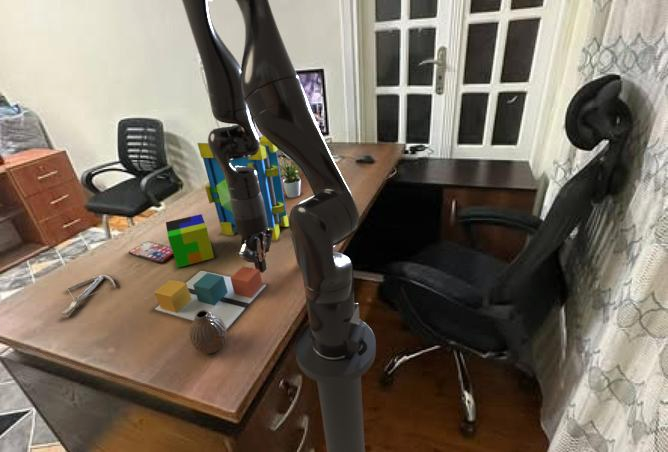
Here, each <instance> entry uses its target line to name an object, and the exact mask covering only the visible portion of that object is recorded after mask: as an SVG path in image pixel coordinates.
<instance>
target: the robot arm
mask: <svg viewBox="0 0 668 452" xmlns="http://www.w3.org/2000/svg"><path fill="white" fill-rule="evenodd" d="M213 1H214V0H181V2H182V6H183V9H184V12H185V15H186V19H187V23H188V25H189V28H190V31H191V34H192V37H193V40H194V44H195V47H196V49H197V53H198V55H199V59H200V62H201V66H202V69H203V73H204V77H205V82H206V88H207V93H208V94H207V95H208V99H209V105H210V110H211V114H212V116H213V117H214V119H215V120H216V121H218V122H220V123H224V124H230V125H227V126H220V127H216V128H213V129H211V130H210V131H209V133H208V136H207V143H208V145H209V148H210V150H211V152H212V154H213V155H214V157H215V159H216V160H217V162H218V164H219V166H220V167H221V169H222V171H223V174H224V176H225V179H226V182H227V186H228V190H229V194H230V200H231V208H232V212H233V216H234V221H235V225H236V229H237V232H236V233H238V234H239V235H240V239H241V240H240V243H241V245H242V246H241V249H240V250H237V251H236V256H237V257H239V258H240V259H242V260H244V261H246V263H247V262H248V263H252V264H253V265H254V269H259V270H260V274H261V273H262V274H263V273H265V271H266V270H267V262H266V261H267V260H266V257H267V253H269V252H270V248H271V244H272V240H271V239H272V234H273V230H271V229H266V228H267V227H268V222H267V216H266V211H265V206H264V201H263V197H262V194H261V190H260V185H259V180H258V175H257V172H256V170H255V169H254V168H253V167H248V166H235V165H232V164H231V160H235V159H241V158H246V157H250V156H254V155H255V154H256V153H257V152H258V151H259V148H260V139H261V138H260V137H259V134H258V132H257V129H258V130H259V132H260V133H261V134H262V136H263V135H264V136H265V137H266V138H267V139H268V140H269V141H270V142H271V143H272V144H273V145H274V146H276V147H277V148H278V151H280V152H281V153H282V154H284V155H285V156H286V157H288V159H289V158H290V159H289V160H290V161H292V162H293V161H294V162H295V165H296V164H297V165H298V167H297V168H298V169H301V170H302V171H301V170H300V171H301V173H303V175H304V177H305V179H306V181H307V182H308V184H309V187H310V190H311V191H312V194H313V195H312V196H310V197H308V198H307V199H304V200H302V201H300V202H299V203H296V205H294V206H293V207H292V208H291V210H290V213H289V216H288V222H289V231H290V236H291V237H290V238H291V241H292V245H293V251H294V255H295V259H296V264H297V266H298V269H299V271H300V273H301V275H302V280H303V286H304V294H305V301H306V308H307V314H308V315H307V316H308V321H309V322H308V323H310V329H311V331H310V333H309V338H310V337H311V335H312V346H313V350H314V352H315V353H316V354H317V355H318V356H319V357H320V358H322V359H324V360H328V361H339V360H343V359H348V360H351V358H352V356H353V354H354V352H356V353H358V355H360V356H362V355H363V354H364V353H365V352H366V351H367V343H366V342H365V340H364V338H365V326H362V325H360V320H361V318H360V305H359V303H358V302H356V299H355V297H356V296H355V282H354V265H353V263H352V260H351V259H350V258H349V257H348V255H345V254H344V253H342V252H339V251H334V248H335V247H337V246H338V245H340V244H341V243H343V242H344V241H345V240H347V239H348V238H350V237H351V236H353V235H354V234H355V233H356V232H357V231H358V229H359V226H360V213H359V210H358V209H359V208H358V206H357V204H356V201H355V199H354V197H353V195H352V193H351V190H350V189H349V187H348V185H347V183H346V181H345V179H344V177H343V175H342V174H341V171H340V170H339V168H338V166H337V164H336V162H335V161H334V158H333V156H332V154H331V151H330V150H329V148H328V146H327V143H326V141H325V139H324V137H323V134H322V133H321V129H320V127H319V125H318V123H317V121H316V118H315V116H314V113H313V110H312V108H311V105H310V103H309V100H308V98H307V94H306V93H305V90H304V88H303V85H302V83H301V80H300V78H299V76H298V73H297V71H296V69H295V67H294V64H293V62H292V60H291V57H290V56H289V53H288V51H287V48H286V45H285V43H284V40H283V38H282V36H281V32H280V29H279V28H278V25H277V22H276V20H275V19H276V18H275V17H274V14H273V11H272V7H271V5H270V2H269V1H270V0H234V1H235V3H236V5H237V6H238V9H239V12H240V14H241V17H242V21H243V25H244V47H243V53H242V59H241V65H240V63H239V61H238V60H237V58H236V57H235V56H234V54H233V53H232V52H231V50H230V49H229V47H227V45H226V44H225V43H224V40H222V38H221V37H220V35H219V33H218V32H217V30H216V28H215V26H214V23H213V20H212V18H211V14H210V7H209V2H213ZM253 121H254V123H253ZM231 124H232V125H231ZM254 124H255V125H254ZM255 126H256V127H255ZM256 128H257V129H256ZM266 237H267V238H266ZM361 345H362V346H363V348H362V349H361V350H360V351H359V349H360V347H361Z"/></svg>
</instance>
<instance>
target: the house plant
mask: <svg viewBox="0 0 668 452" xmlns="http://www.w3.org/2000/svg"><path fill="white" fill-rule="evenodd" d="M280 158H281V160H282V162H283V164H282V163H281V162H280V161H279V160H278V163H279V167H280V168H281V169H280V176H281V178H283V179H282V180H281V182H282V186H283V188H284V192H285V194H286V196H287V198H291V199H293V198H297V197H300V195H301V181H302V179H301V178H300V173H302V170H301V169H300V168H299V167H298V165H297V164H296V163H295V162H294V161H293V160H291V159H290V158H289V157H288V159H289V162H288V163H287V161H286V160H285V158H284V157H282V156H281V157H280ZM291 162H293V163H292V165H291ZM283 165H284V166H283Z"/></svg>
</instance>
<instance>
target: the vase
mask: <svg viewBox="0 0 668 452" xmlns="http://www.w3.org/2000/svg"><path fill="white" fill-rule="evenodd" d="M227 333H228V332H227V330H226V327H225V324H224V322H223V321H222V319H221V318H220V317H218V316H217V315H215V314H212V313H209V312H208V311H207V310H201V311H199V312H197V313H196V315H195V319H194V320H193V321H192V322H191V324H190V326H189V341H190V343H191V345H192V347H193V348H194V349H195V350H196V351H197V352H199V353H201V354H204V355H205V354H206V355H207V354H208V355H209V354H214V353H216V352H218V351H219V350H220V349H221V348H222V347H223V346H224V345H225V343H226V340H227Z"/></svg>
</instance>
